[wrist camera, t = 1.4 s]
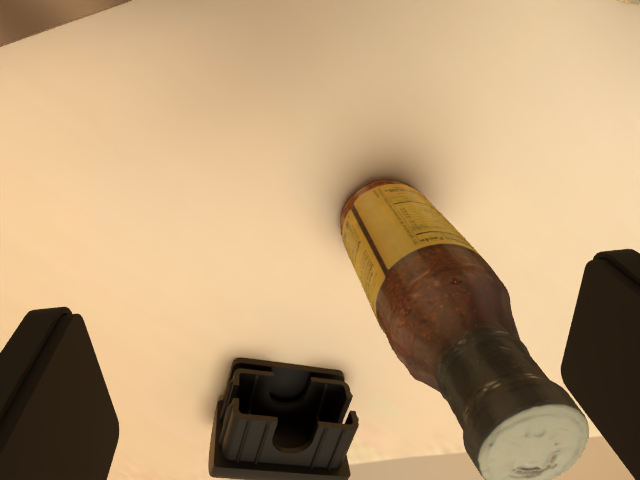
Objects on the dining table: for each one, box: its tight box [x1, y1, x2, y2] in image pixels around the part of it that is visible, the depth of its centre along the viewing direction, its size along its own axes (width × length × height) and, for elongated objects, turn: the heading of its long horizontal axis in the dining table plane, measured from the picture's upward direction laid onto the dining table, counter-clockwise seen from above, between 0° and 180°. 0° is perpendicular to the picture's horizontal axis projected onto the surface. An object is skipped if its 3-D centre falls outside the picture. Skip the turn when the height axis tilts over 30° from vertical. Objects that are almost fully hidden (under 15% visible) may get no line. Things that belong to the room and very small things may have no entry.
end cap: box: [209, 358, 359, 480], centre depth 38 cm, size 10×7×7 cm
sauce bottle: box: [341, 180, 589, 480], centre depth 25 cm, size 7×6×20 cm
